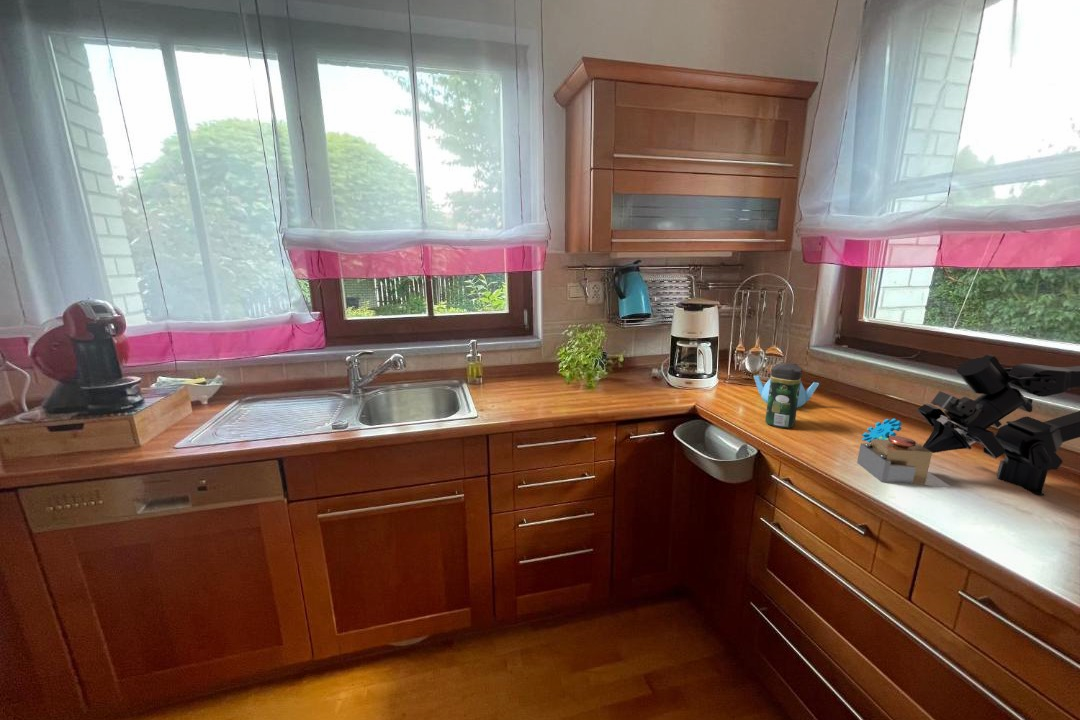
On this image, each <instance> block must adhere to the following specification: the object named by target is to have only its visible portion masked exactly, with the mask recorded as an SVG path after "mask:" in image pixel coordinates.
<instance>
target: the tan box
mask: <svg viewBox="0 0 1080 720" xmlns="http://www.w3.org/2000/svg"><path fill="white" fill-rule="evenodd" d="M870 444H871V448H873V449H874V450H875V451H877V452H878V453H880V454H885V455H887V459H888V460H890V461H891V464H893V465H909V466H915V467H916V470H915V474H914V479H913V481H926V478H927V473H928V472H929V469H930V464H931V460H932V456H933V453H932V452H931V451H930V450H928V449H926V448H924V447H923V445H921V444H919V443H918V442H916V440H913V438H912V439H911V438H908V437H907V436H906V437H905V436H900V435H896V436H890V435H889V439H888V440H884V439H872V440H871V443H870Z"/></svg>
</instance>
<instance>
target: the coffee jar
mask: <svg viewBox="0 0 1080 720" xmlns="http://www.w3.org/2000/svg"><path fill="white" fill-rule="evenodd" d="M802 374H803V369H802V367H801V366H799V365H798V364H797V363H793V362H784V361H783V362H780V363H777V364H774V365H773V367H772V368H771V373H770V378H771V379H770V378H769V379H770V387H769V395H768V403H766V404H767V405H766V413H765V419H764V420H765V421H764V422H765V423H766V424H767V425H770V426H772V427H775V428H779V429H785V428H786V429H790V428H792V427H793V426H794V425H795V423H796V418H797V417H796V416H797V409H798V408H797V403H798V397H799V390H800V383H802Z"/></svg>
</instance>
